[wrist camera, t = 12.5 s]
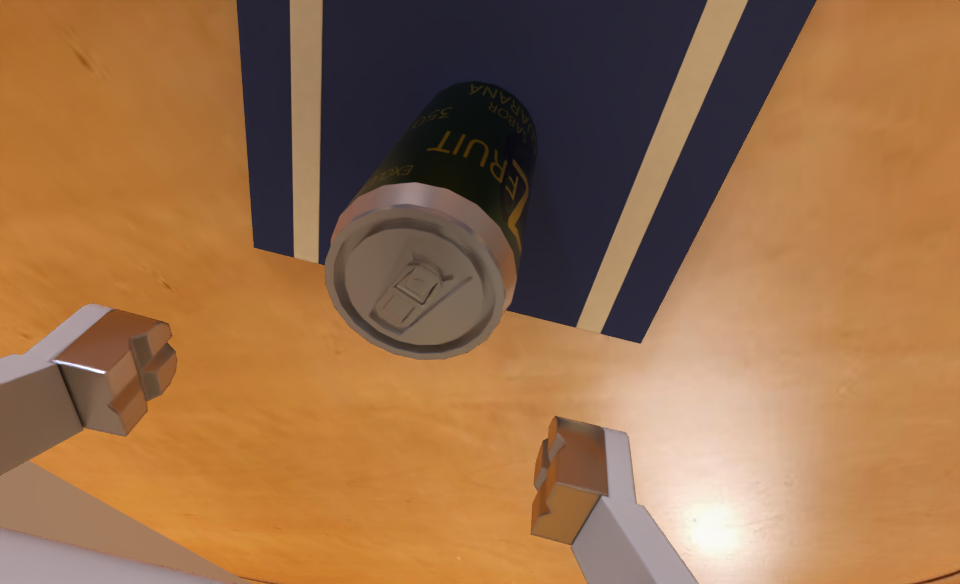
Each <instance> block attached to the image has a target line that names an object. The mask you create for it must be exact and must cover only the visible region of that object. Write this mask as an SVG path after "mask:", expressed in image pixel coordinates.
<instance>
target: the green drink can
mask: <svg viewBox="0 0 960 584" xmlns="http://www.w3.org/2000/svg"><path fill="white" fill-rule="evenodd" d="M537 149H538V146H537V136H536V128H535V126H534V124H533V121H532V119H531V117H530V115H529V112H528V110H527V109H526V108H525V107H524V106H523V105H522V104H521V102H520V101H519V100H518V99H517V98H516V97H515V96H514V95H513V94H511V93H509V92H508V91H506V90H504V89H502V88H501V87H499V86H497V85H494V84H489V83H484V82H479V81H470V82H463V83H456V84H454V85H452V86H450V87H448V88H446V89H444V90H442V91H440V92H438V93H437V95H436V96H435V97H434V98H433V99H432V100H431V101H430V102H429V103H428V104H427V105H426V106H425V108H424V109H423V110H422V111H421V113H420V114H419V115H418V117H417V118H416V119H415V120H414V122H413V123H412V124H411V125H410V127H409V128H408V129H407V131H406V132H405V133H404V134H403V136H402V137H401V138H400V140H399V141H398V142H397V143H396V145H395V146H394V147H393V149H392V150H391V151H390V152H389V154H388V155H387V156H386V157H385V159H384V160H383V161H382V163H381V164H380V165H379V166H378V168H377V169H376V170H375V172H374V173H373V174H372V175H371V177H370V178H369V179H368V180H367V182H366V183H365V184H364V186H363V187H362V188H361V189H360V191H359V192H358V193H357V195H356V196H355V197H354V198H353V200H352V201H351V202H350V204H349V205H348V206H347V207H346V209H345V210H344V211H343V212H342V214H341V215H340V217H339V219H338V222H337V224H336V227H335V230H334V232H333V235H332V237H331V247H330V249H329V252H328V255H327V257H326V260H325V282H326V287H327V289H328V292H329V295H330V297H331V300H332V302H333V305H334V307H335V309H336V310H337V311H338V312H339V314H340V315H341V316H342V318H343V319H344V320H345V322H346V323H347V324H348V325H349V327H350V328H352V329H353V330H354V331H355V332H357V333H358V334H359V335H361V336H362V337H363V338H364V339H366V340H367V341H368V342H369V343H371V344H373V345H375V346H377V347H380V348H382V349H384V350H386V351H388V352H390V353H392V354H395V355H400V356H404V357H409V358H413V359H418V360H435V359H448V358H451V357H454V356H458V355H461V354H465V353H468V352H469V351H471V350H472V349H474V348H475V347H477V346H478V345H480V344H481V343H483V342H484V341H486V340H487V339H488V337H489V336H490V335H491V333H492V332H493V330H494V329H495V328H496V326H497V325H498V323H499V322H500V318H501V316H502V315H503V314H504V312H505V311H506V309H507V308H508V306H509V305H510V304H511V302H512V298H513V294H514V289H515V285H516V281H517V276H518V270H519V263H520V257H521V251H522V244H523V238H524V232H525V225H526V219H527V213H528V206H529V200H530V194H531V187H532V181H533V175H534V168H535V162H536V155H537Z"/></svg>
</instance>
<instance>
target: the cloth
mask: <svg viewBox="0 0 960 584" xmlns="http://www.w3.org/2000/svg"><path fill="white" fill-rule="evenodd" d="M815 2H816V0H237V12H238V26H239V40H240V55H241V69H242V83H243V98H244V112H245V126H246V141H247V155H248V169H249V184H250V198H251V212H252V227H253V241H254V248H258V249H262V250H266V251H270V252H274V253H278V254H282V255H286V256H290V257H294V258H296V259H301V260H305V261H309V262H313V263H317V264H322V265H325V260H326V257H327V255H328V252H329V249H330V247H331V237H332V235H333V232H334V230H335V227H336V224H337V222H338V219H339V217H340V215H341V214H342V212H343V211H344V210H345V209H346V207H347V206H348V205H349V204H350V202H351V201H352V200H353V198H354V197H355V196H356V195H357V193H358V192H359V191H360V189H361V188H362V187H363V186H364V184H365V183H366V182H367V180H368V179H369V178H370V177H371V175H372V174H373V173H374V172H375V170H376V169H377V168H378V166H379V165H380V164H381V163H382V161H383V160H384V159H385V157H386V156H387V155H388V154H389V152H390V151H391V150H392V149H393V147H394V146H395V145H396V143H397V142H398V141H399V140H400V138H401V137H402V136H403V134H404V133H405V132H406V131H407V129H408V128H409V127H410V125H411V124H412V123H413V122H414V120H415V119H416V118H417V117H418V115H419V114H420V113H421V111H422V110H423V109H424V108H425V106H426V105H427V104H428V103H429V102H430V101H431V100H432V99H433V98H434V97H435V96H436V95H437V93H438V92H440V91H442V90H444V89H446V88H448V87H450V86H452V85H454V84H456V83H463V82H470V81H479V82H484V83H489V84H494V85H497V86H499V87H501V88H502V89H504V90H506V91H508V92H509V93H511V94H513V95H514V96H515V97H516V98H517V99H518V100H519V101H520V102H521V104H522V105H523V106H524V107H525V108H526V109H527V110H528V112H529V115H530V117H531V119H532V121H533V124H534V126H535V128H536V136H537V146H538V149H537V155H536V162H535V168H534V175H533V181H532V187H531V194H530V200H529V206H528V213H527V219H526V225H525V232H524V238H523V244H522V251H521V257H520V263H519V270H518V276H517V281H516V285H515V289H514V294H513V298H512V302H511V304H510V305H509V306H508V308H507V309H506V310H507V311H511V312H515V313H519V314H523V315H528V316H532V317H536V318H540V319H544V320H548V321H552V322H556V323H560V324H564V325H568V326H572V327H576V328H578V329H582V330H586V331H590V332H594V333H598V334H604V335H608V336H612V337H616V338H620V339H624V340H628V341H632V342H636V343H641V342H642V340H643V338H644V336H645V334H646V332H647V330H648V328H649V326H650V324H651V322H652V320H653V318H654V316H655V314H656V312H657V311H658V309H659V307H660V305H661V303H662V301H663V299H664V297H665V295H666V293H667V291H668V289H669V287H670V285H671V283H672V281H673V279H674V277H675V275H676V273H677V271H678V270H679V268H680V266H681V264H682V262H683V260H684V258H685V256H686V254H687V252H688V250H689V248H690V246H691V244H692V242H693V240H694V238H695V236H696V234H697V232H698V230H699V229H700V227H701V225H702V223H703V221H704V219H705V217H706V215H707V213H708V211H709V209H710V207H711V205H712V203H713V201H714V199H715V197H716V195H717V193H718V191H719V189H720V188H721V186H722V184H723V182H724V180H725V178H726V176H727V174H728V172H729V170H730V168H731V166H732V164H733V162H734V160H735V158H736V156H737V154H738V152H739V150H740V149H741V147H742V145H743V143H744V141H745V139H746V137H747V135H748V133H749V131H750V129H751V127H752V125H753V123H754V121H755V119H756V117H757V115H758V113H759V111H760V109H761V108H762V106H763V104H764V102H765V100H766V98H767V96H768V94H769V92H770V90H771V88H772V86H773V84H774V82H775V80H776V78H777V76H778V74H779V72H780V70H781V68H782V67H783V65H784V63H785V61H786V59H787V57H788V55H789V53H790V51H791V49H792V47H793V45H794V43H795V41H796V39H797V37H798V35H799V33H800V31H801V29H802V27H803V26H804V24H805V22H806V20H807V18H808V16H809V14H810V12H811V10H812V8H813V6H814V4H815Z"/></svg>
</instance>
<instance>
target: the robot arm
mask: <svg viewBox="0 0 960 584" xmlns="http://www.w3.org/2000/svg"><path fill="white" fill-rule="evenodd" d="M171 337H172V333H171V329H170V325H169V324H168V323H165V322H163V321H159V320H155V319H152V318H148V317H144V316H141V315H137V314H133V313H129V312H126V311H122V310H118V309H113V308H110V307H106V306H102V305H98V304H94V303H92V304H89V305H85V306H83V307H82V308H80V309H79V310H78V311H77V312H75V313H74V314H73V315H72V316H70V317H69V318H68V319H67V320H66V321H64V322H63V323H62V324H61V325H59V326H58V327H57V328H56V329H54V330H53V331H52V332H51V333H49V334H48V335H47V336H46V337H44V338H43V339H42V340H41V341H39V342H38V343H37V344H36V345H34V346H33V347H32V348H31V349H30V350H28V351H27V352H26V353H25V354H23V355H19V354H12V355H9V356H6V357H3V358H0V475H2V474H4V473H6V472H8V471H10V470H11V469H13V468H15V467H17V466H19V465H20V464H22V463H24V462H26V461H28V460H30V459H32V458H33V457H35V456H37V455H39V454H41V453H42V452H44V451H46V450H48V449H50V448H52V447H53V446H55V445H57V444H59V443H61V442H63V441H64V440H66V439H68V438H70V437H72V436H73V435H75V434H77V433H79V432H81V431H83V428H87V429H92V430H97V431H101V432H106V433H111V434H116V435H120V436H125V437H126V436H127V435H128V434H129V433H130V431H131V430H132V429H133V428H134V427H135V426H136V424H137V423H138V422H139V421H140V420H141V418H142V417H143V416H144V415H145V414H146V413H147V411H148V406H147V401H149V400H151V399H153V398H155V397H157V396H160V395H162V394H163V392H164V391H165V390H166V389H167V387H168V386H169V385H170V383H171V381H172V379H173V377H174V374H175V372H176V368H177V356H176V351H175V350H174V349H173V348H172V347H171V346H170V345H169V344H168V343H167V341H168V340H169V339H170V338H171ZM534 486H535V488H536V489H537V491H538V493H537V495H536V497H535V499H534V501H533V504H532V519H531V535H535V536H539V537H542V538H546V539H550V540H553V541H557V542H561V543H565V544H568V545H572V546H571V549H572V551H573V553H574V556H575V558H576V560H577V562H578V564H579V566H580V568H581V571H582V573H583V575H584V577H585V579H586V581H587V583H588V584H699V583H698V582H697V580H696V579H695V577H694V576H693V574H692V573H691V572H690V570H689V569H688V567H687V566H686V565H685V563H684V562H683V560H682V559H681V558H680V556H679V555H678V553H677V552H676V550H675V549H674V548H673V546H672V545H671V543H670V542H669V541H668V539H667V538H666V536H665V535H664V534H663V532H662V531H661V529H660V528H659V526H658V525H657V524H656V522H655V521H654V519H653V518H652V517H651V515H650V514H649V512H648V511H647V510H646V508H645V507H644V506H642V505H639V504H637V502H636V493H635V485H634V477H633V468H632V460H631V451H630V443H629V437H628V435H627V433H625V432H621V431H617V430H612V429H608V428H604V427H602V428H601V427H600V426H596V425H592V424H588V423H583V422H579V421H575V420H570V419H566V418H562V417H557V416H555V417H554V418H553V419H552V421H551V423H550V426H549V433H548V438H547V439H545V440H543V442H542V445H541V447H540V450H539V453H538V457H537V461H536V466H535V473H534ZM0 584H236V583H232V582H228V581H224V580H220V579H215V578H211V577H207V576H202V575H199V574H195V573H190V572H186V571H182V570H178V569H174V568H170V567H165V566H161V565H157V564H153V563H149V562H144V561H140V560H136V559H132V558H128V557H124V556H120V555H115V554H111V553H107V552H103V551H99V550H94V549H90V548H86V547H82V546H78V545H74V544H69V543H65V542H61V541H57V540H53V539H49V538H45V537H40V536H36V535H32V534H28V533H24V532H20V531H15V530H11V529H7V528H3V527H0Z"/></svg>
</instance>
